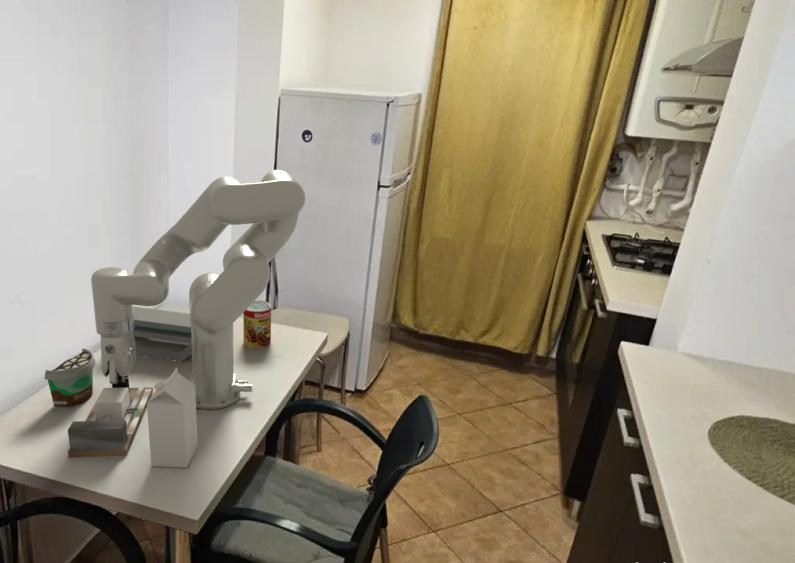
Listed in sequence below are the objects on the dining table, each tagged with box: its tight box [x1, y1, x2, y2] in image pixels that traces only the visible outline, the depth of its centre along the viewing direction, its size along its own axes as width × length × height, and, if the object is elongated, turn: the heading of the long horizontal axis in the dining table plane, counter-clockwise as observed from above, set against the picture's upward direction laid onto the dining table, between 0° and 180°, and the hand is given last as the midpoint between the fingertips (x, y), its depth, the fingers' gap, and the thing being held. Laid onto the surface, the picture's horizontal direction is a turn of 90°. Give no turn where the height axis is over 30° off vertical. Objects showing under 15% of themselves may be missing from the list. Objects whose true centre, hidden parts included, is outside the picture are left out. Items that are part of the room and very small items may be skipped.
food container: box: [44, 348, 96, 408], centre depth 130 cm, size 12×6×10 cm, turn 168°
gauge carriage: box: [95, 387, 138, 421], centre depth 124 cm, size 7×7×5 cm
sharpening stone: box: [133, 306, 192, 362], centre depth 154 cm, size 25×8×11 cm, turn 84°
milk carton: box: [146, 367, 198, 469], centre depth 112 cm, size 7×7×19 cm
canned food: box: [242, 300, 272, 350], centre depth 164 cm, size 8×8×12 cm
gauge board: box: [67, 385, 154, 458], centre depth 124 cm, size 24×11×6 cm, turn 11°
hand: (121, 395), depth 129 cm, fingers closed
